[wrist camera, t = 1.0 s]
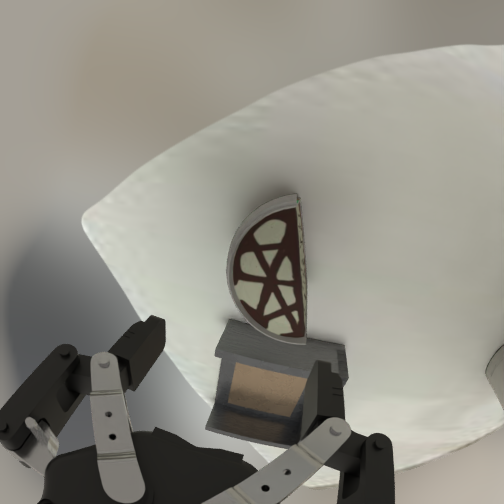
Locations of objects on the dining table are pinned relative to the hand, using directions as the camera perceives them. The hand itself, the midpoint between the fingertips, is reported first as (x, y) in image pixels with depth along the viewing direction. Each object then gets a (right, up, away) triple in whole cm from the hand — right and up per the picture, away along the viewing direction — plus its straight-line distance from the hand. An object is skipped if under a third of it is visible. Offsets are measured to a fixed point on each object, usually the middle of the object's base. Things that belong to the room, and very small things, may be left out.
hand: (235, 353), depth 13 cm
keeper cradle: (+4, -13, +23) cm, 27 cm away
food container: (+3, +6, +16) cm, 18 cm away
